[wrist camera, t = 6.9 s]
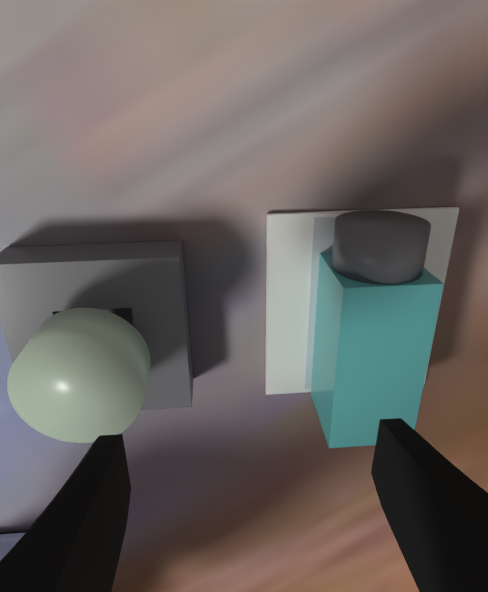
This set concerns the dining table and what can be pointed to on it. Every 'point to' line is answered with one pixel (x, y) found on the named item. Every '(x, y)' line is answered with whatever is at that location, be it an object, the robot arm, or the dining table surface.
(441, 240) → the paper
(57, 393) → the button
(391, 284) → the teal capped block
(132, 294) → the button base
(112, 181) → the dining table surface
